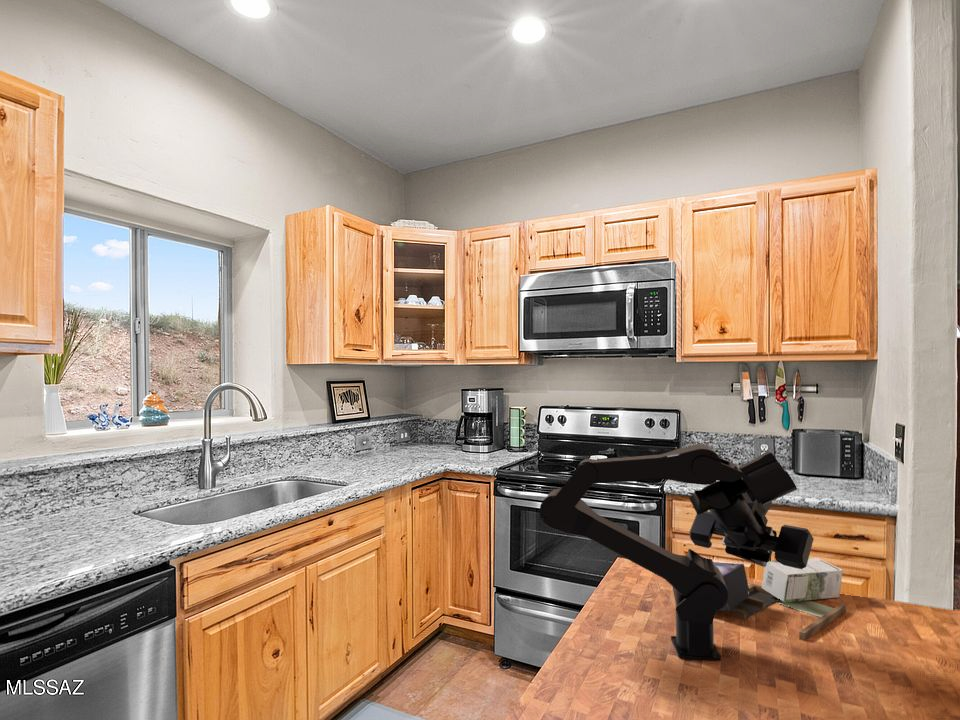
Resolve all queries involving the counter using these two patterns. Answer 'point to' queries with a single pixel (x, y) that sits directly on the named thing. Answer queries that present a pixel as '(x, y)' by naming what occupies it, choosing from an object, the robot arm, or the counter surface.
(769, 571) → the syrup box
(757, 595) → the lane
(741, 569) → the small box
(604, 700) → the counter surface
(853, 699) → the counter surface
